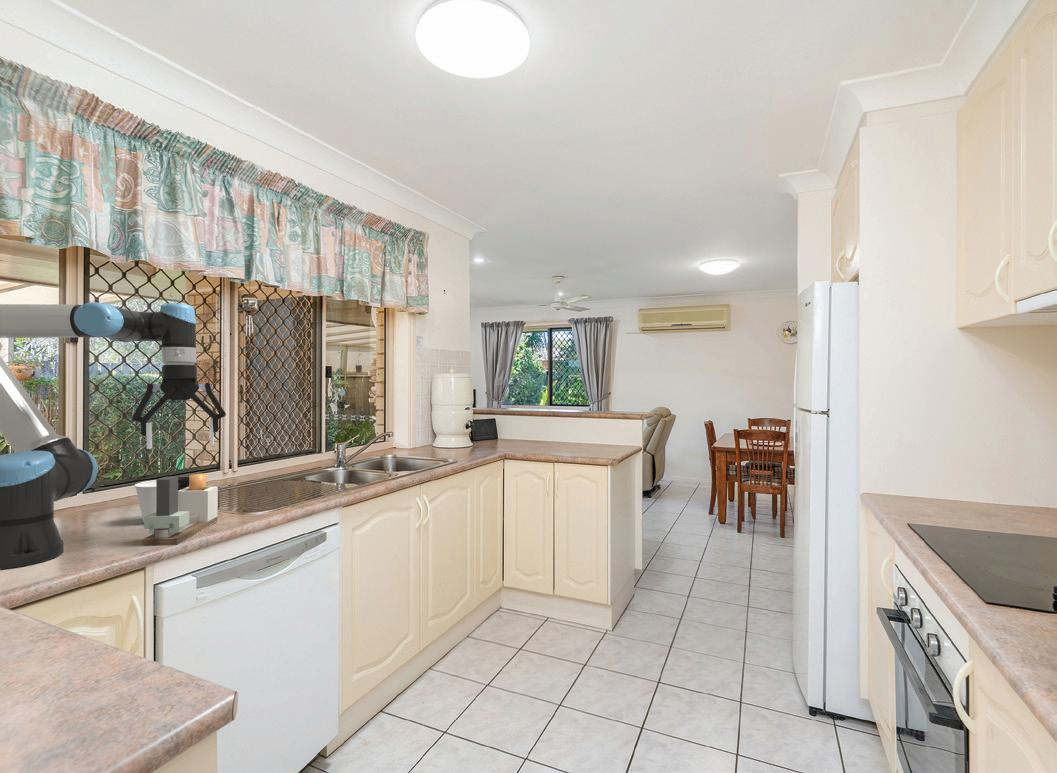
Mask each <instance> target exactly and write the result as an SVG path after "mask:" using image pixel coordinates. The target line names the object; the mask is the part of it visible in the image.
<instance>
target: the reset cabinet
mask: <svg viewBox="0 0 1057 773" xmlns="http://www.w3.org/2000/svg"><path fill="white" fill-rule="evenodd" d="M218 490H219V486H206V489H205V490H203V491H189V487H187V488H184V489H181V490H179V491H178V511H189V515H198V522H208V521H210V520H212V519H214V518H215V517H217V516H218V512H219V511H218V507H219V506H218V501H219V500H218V499H219V496H218V495H219V493H218Z"/></svg>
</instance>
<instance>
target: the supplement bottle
mask: <svg viewBox="0 0 1057 773" xmlns="http://www.w3.org/2000/svg"><path fill="white" fill-rule="evenodd" d="M191 474H192V473H191ZM191 474H180V475H177V476H176V477H178V491H179V490H181V489H184V488H187V487H189V475H191Z"/></svg>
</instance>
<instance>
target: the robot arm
mask: <svg viewBox="0 0 1057 773" xmlns="http://www.w3.org/2000/svg"><path fill="white" fill-rule="evenodd" d="M196 321H197V320H196V312H195V308H194V307H193V306H192V305H191V304H187V303H185V304H184V303H179V302H178V303H175V302H171V303H170V302H168V303H163V304H161V305H160V308H159V311H136V310H135V311H134V310H131V309H126V308H121V307H119V306H115V305H112V304H108V303H106V302H95V301H93V302H91V301H89V302H86V303H83V304H73V303H72V304H66V303H65V304H58V303H57V304H52V303H51V304H45V303H44V304H41V303H40V304H39V303H38V304H33V303H30V304H25V303H23V304H22V303H21V304H19V303H18V304H15V303H12V304H11V303H7V304H6V303H5V304H4V303H1V304H0V339H33V338H34V339H45V338H46V339H47V338H48V339H51V338H53V339H55V338H57V339H58V338H61V339H62V338H86V339H87V338H88V339H89V338H105V339H108V340H110V341H113V342H123V343H130V342H161V363H163V364H164V365H162V366H161V380H162V381H161V384H155V383H147V385H146V391H145V394H144V395H143V397H142V399H141V401H140V402H139V404H138V406H137V407H136V410H135V411H134V413H133V415H132V417H131V420H132V421H135V422H139V423H140V434H141V436H145V437H146V449H147V450H151V449H153V424H152V423H153V422H152V421H150V419H151V418H152V417H153V416H155V414H157V413H158V411H159V410H161V408H162V407H163V406H164V405H165V404H166V403H167V402H169V401H175V402H176V401H189V400H192V401H193V402H195V403H196V404H197V406H199V407H200V408H201V409H202V410H203V412H205V413H206V414H207V415H208V416H209V417H210V418H211V419H210V420H208V422H209V423H208V424H209V446H214V445H215V443H214V442H215V433H218V431H219V429H220V428H219V420H220V419H222V418H225V417H226V415H227V413H226V412H225V410H224V408H223V406H222V405H221V403H220V402H219V400H218V398H217V396H216V395H215V393H214V391H213V389H212V388H213V387H212V384H211V383H210V382H205V383H198V367H197V365H195V364H196V363H197V333H196V332H197V322H196ZM2 348H3V344H2V343H1V342H0V352H1V351H2ZM199 389H201V390H202V392H205V393H206V395H207V396H208V398H209V400H210V401H211V403H212V404H213V406H214V408H215V410H216V411H217V413H216V412H214V411H213V409H212V408H211V407H210V406H208V404H207V403H205V402H204V401H203V399H201V398H200V397H199V396H198V395H197V394H196V393H197V392H198V390H199ZM158 390H160V391H162V393H163V394H164V395H163V396H162V397H160V399H159V400H158V401H157V402H156V403H155V404H154V405H153V406H152V407H151V409H149V410H148V411H147V412H146V413H145V414H144V415H143V413H144V411H145V409H146V408H147V406H148V405H149V402H150V401H151V399H152V397H153V395H154V393H157V392H158ZM142 415H143V416H142ZM149 421H150V422H149ZM0 434H1V436H2V437H3V438H4V439H5V440H6V442H7V444H9V446H10V447H11V449H12V450H13V451H14V452H13V453H10V452H9V453H4V454H1V455H0V570H3V569H14V568H20V567H23V566H30V565H34V564H38V563H43V562H46V561H49V560H52V559H55V558H57V557H59V556H61V555H62V554H64V550H65V549H64V546H65V544H64V540H63V539H62V537H61V533H60V531H59V529H58V527H57V524H56V523H55V518H54V514H55V512H54V511H55V502H57V501H61V500H64V499H68V498H73V497H75V496H77V495H79V494H80V493H83V492H84V491H86V490H87V489H89V488H90V487H92V485H93V484H94V482H96V481H95V480H97V479H96V478H97V476H98V472H99V464H98V462H97V460H96V458H95V457H94V455H93V454H92V453H90V452H89V451H87V450H84V449H81V448H78V447H76V446H75V444H74V443H73V441H72V440H71V439H70V437H69V436H65V435H61V434H57V432H56V431H55V429H54V428H53V426H52V425H51V424H50V423H49V421H48V420H47V419H46V416H45V415H43V412H42V411H41V410H40V409H39V407H38V406H37V405H36V403H35V402H34V401H33V399H32V398H31V396H30V395H29V393H28V392H27V391H26V389H25V388H24V387H23V385H22V383H21V382H20V381H19V380H18V378H17V377H16V375H15V374H14V373H13V372H12V370H11V368H10V367H9V366H8V365H7V364H6V362H5V360H4V359H3V358H2V356H1V355H0Z"/></svg>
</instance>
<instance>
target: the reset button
mask: <svg viewBox="0 0 1057 773" xmlns="http://www.w3.org/2000/svg"><path fill="white" fill-rule="evenodd" d="M188 475H189V491H203V490H205V489H206V487H207V473H193V474H192V473H191V475H190V474H188Z"/></svg>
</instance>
